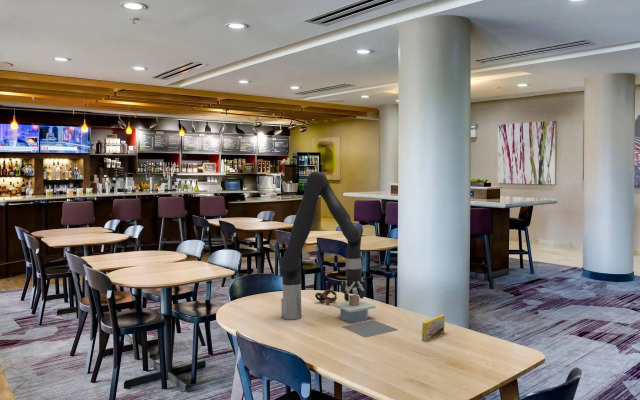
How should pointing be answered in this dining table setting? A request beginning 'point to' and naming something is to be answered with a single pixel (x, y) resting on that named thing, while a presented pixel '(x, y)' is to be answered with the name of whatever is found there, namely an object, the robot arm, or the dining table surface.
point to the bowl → (354, 315)
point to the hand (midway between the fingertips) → (354, 299)
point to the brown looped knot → (326, 296)
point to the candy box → (433, 327)
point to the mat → (369, 328)
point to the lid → (354, 304)
